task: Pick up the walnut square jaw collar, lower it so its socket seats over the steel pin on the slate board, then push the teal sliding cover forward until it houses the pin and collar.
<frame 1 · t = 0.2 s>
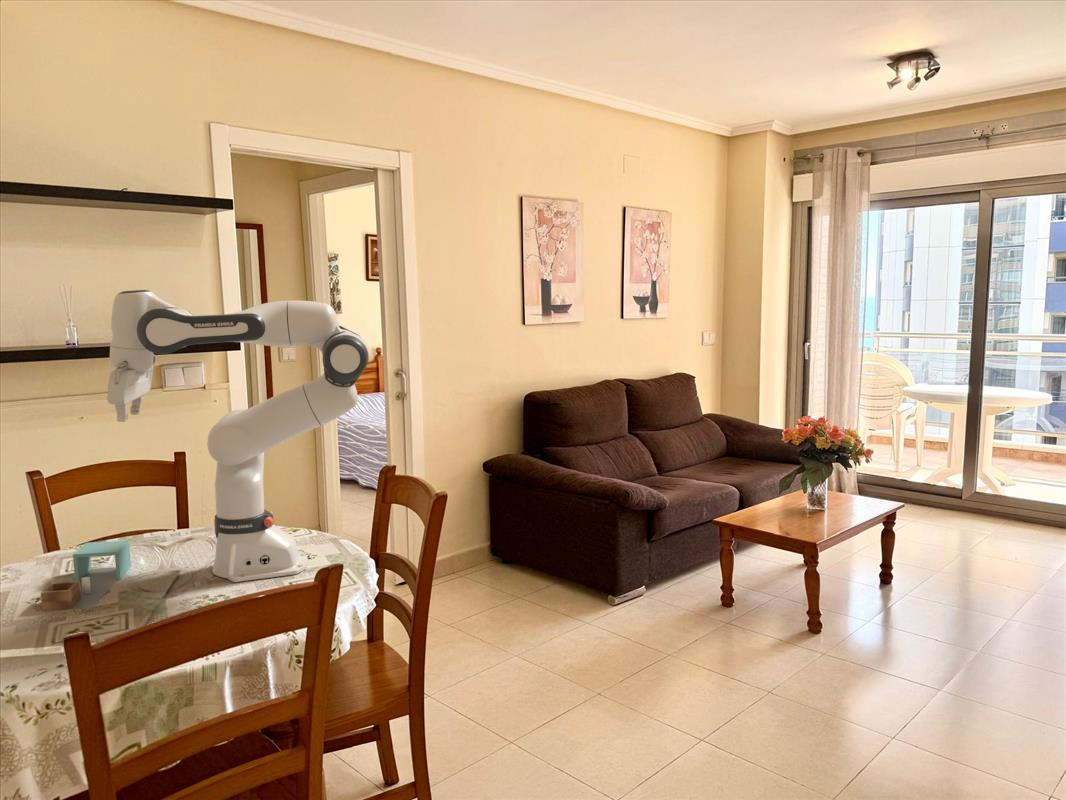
hand: (128, 417, 176), 38 cm above the table, tool pointing down, fingers open, 8 cm apart
housing base: (88, 591, 171), on the table
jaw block: (62, 604, 162), point 1 cm above the table, touching housing base
cover: (102, 560, 178), point 5 cm above the table, slide at 0.0 cm
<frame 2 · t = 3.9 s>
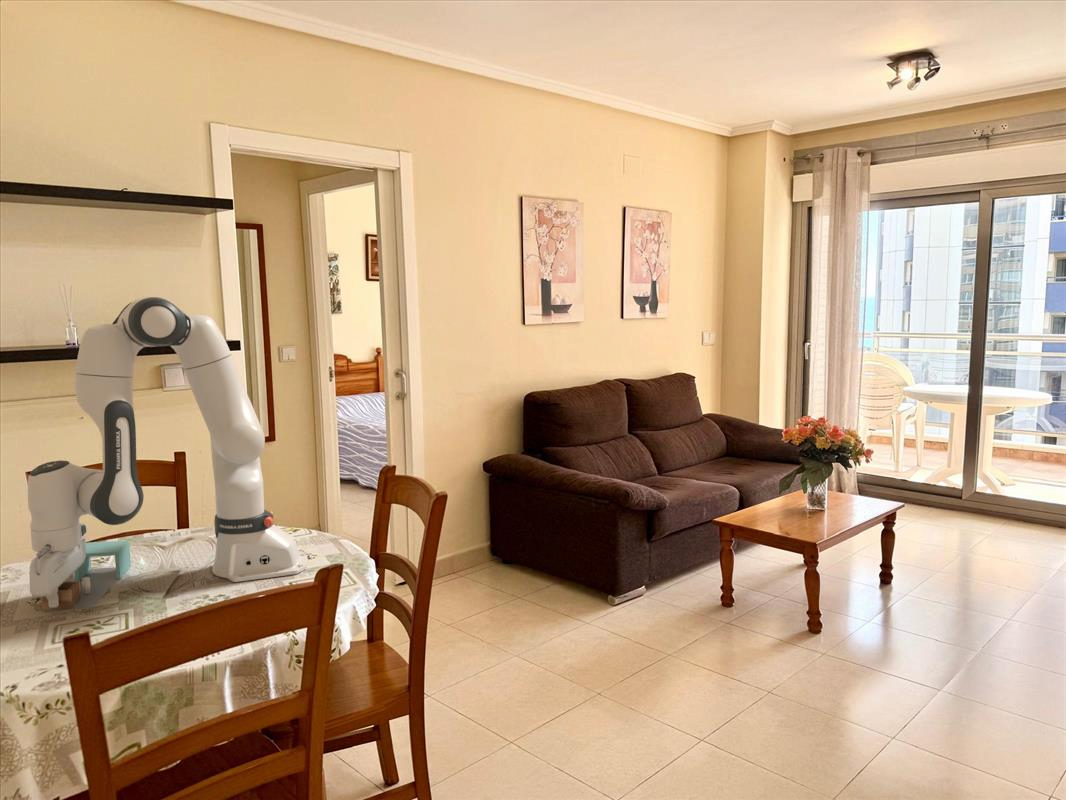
hand: (61, 599, 162), 2 cm above the table, tool pointing down, fingers closed on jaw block, 6 cm apart
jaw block: (62, 604, 162), point 1 cm above the table, touching gripper, housing base
everything else where it was.
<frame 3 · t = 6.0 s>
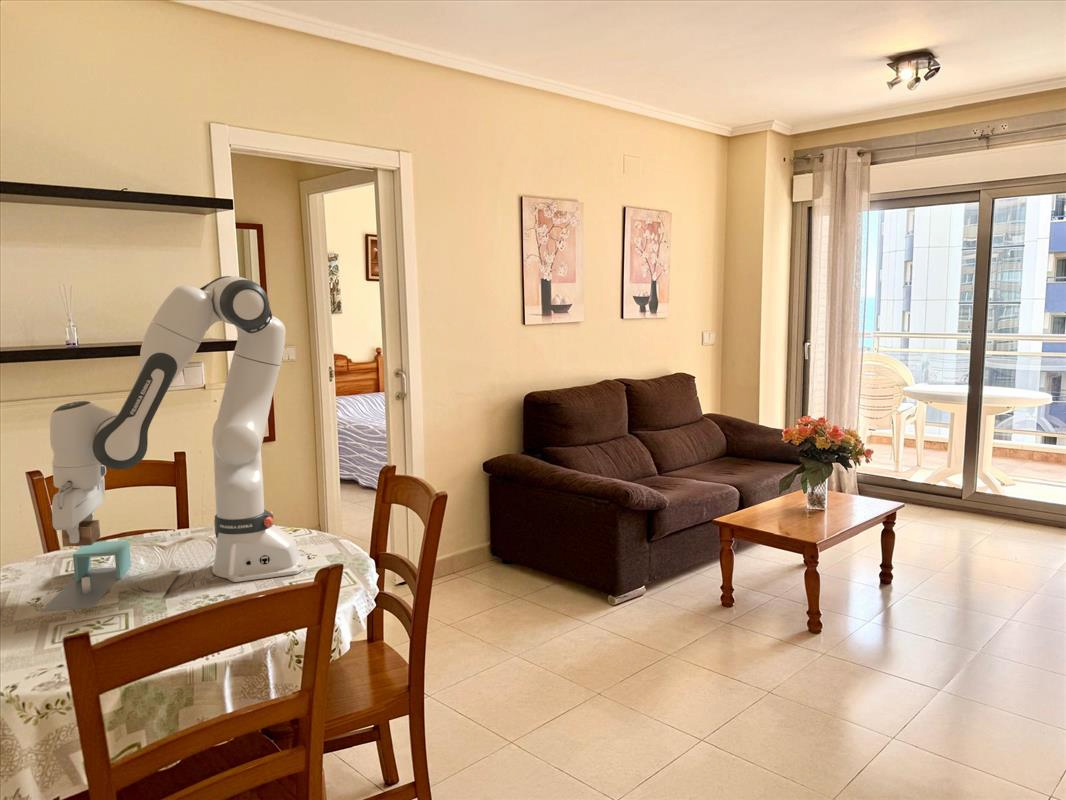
hand: (81, 536, 166), 14 cm above the table, tool pointing down, fingers closed on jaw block, 6 cm apart
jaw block: (81, 541, 166), point 13 cm above the table, touching gripper
everything else where it was.
when the fingers open (4 cm above the table, at t = 8.2 s): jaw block drops 2 cm, resting on housing base.
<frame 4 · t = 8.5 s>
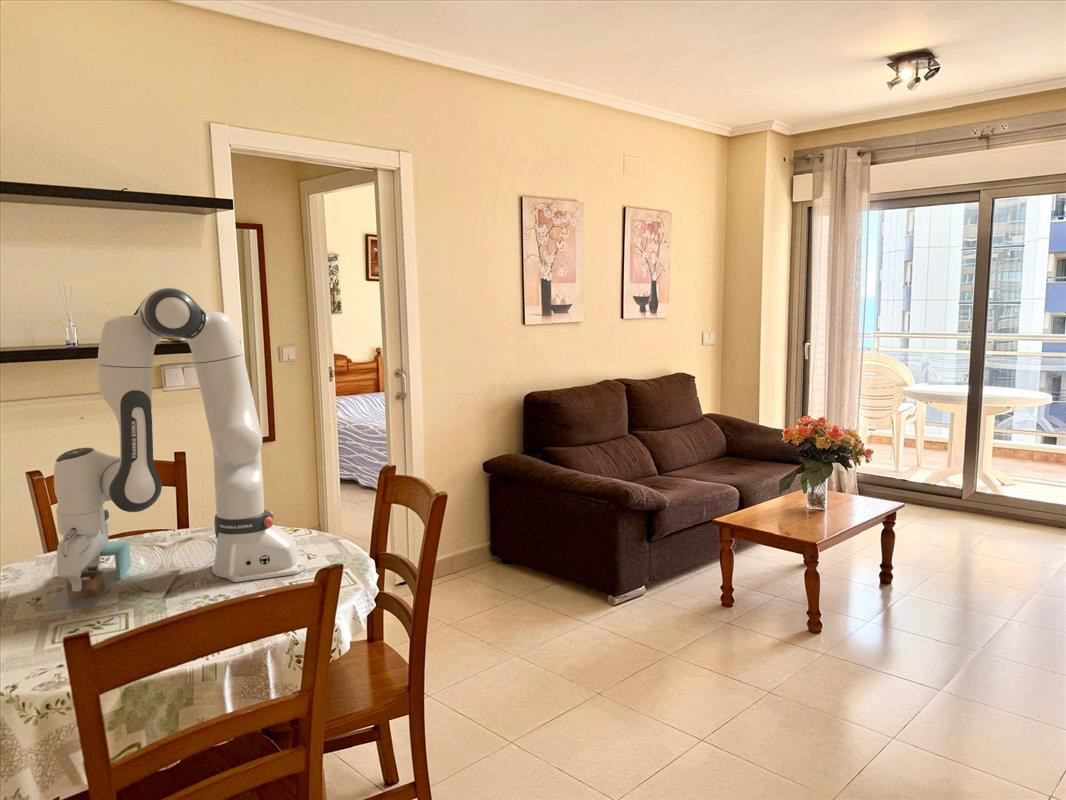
hand: (86, 581, 167), 4 cm above the table, tool pointing down, fingers open, 8 cm apart
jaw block: (86, 593, 168), point 1 cm above the table, touching housing base
everything else where it was.
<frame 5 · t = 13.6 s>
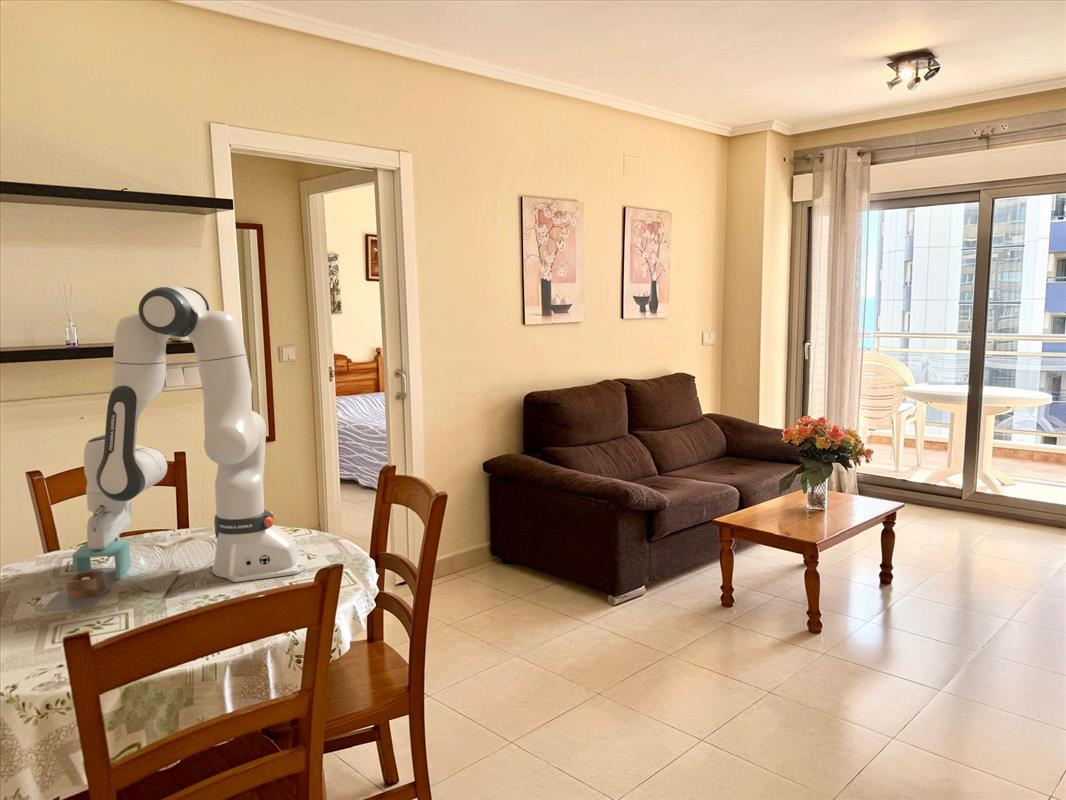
hand: (112, 554, 184), 4 cm above the table, tool pointing down, fingers closed
cover: (102, 560, 178), point 5 cm above the table, slide at 0.3 cm, touching gripper
everything else where it was.
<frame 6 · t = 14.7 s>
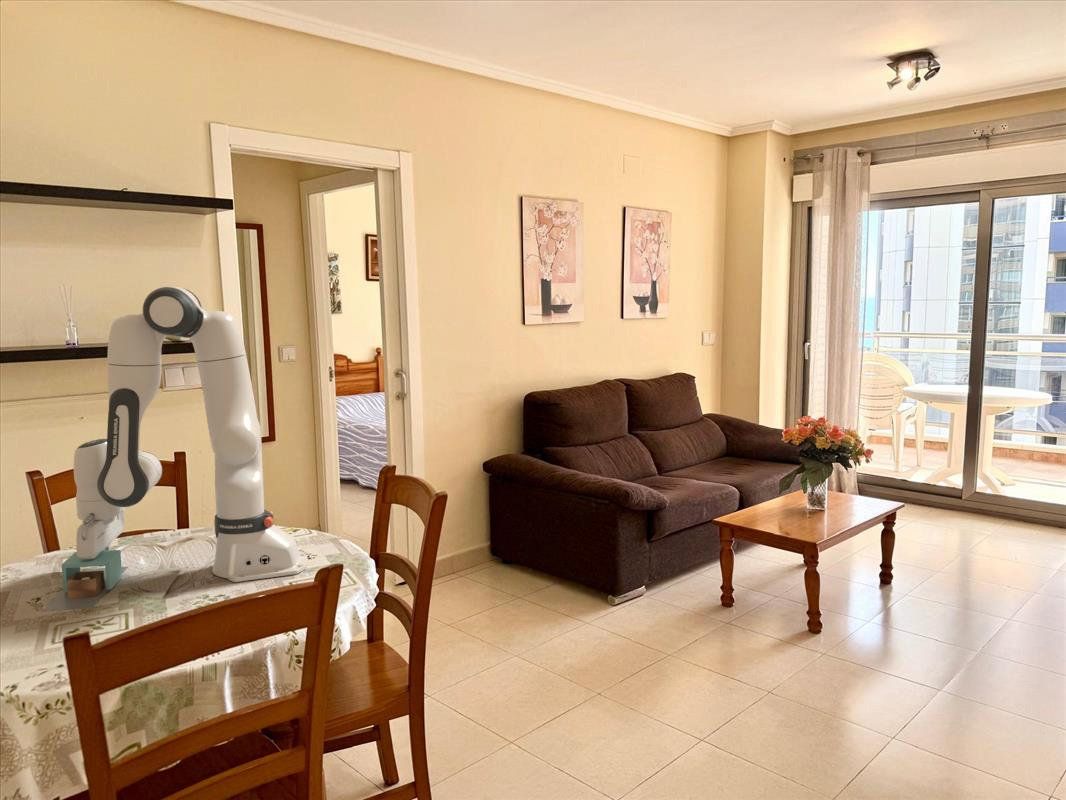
hand: (103, 564, 178), 4 cm above the table, tool pointing down, fingers closed
cover: (92, 570, 171), point 5 cm above the table, slide at 6.6 cm, touching gripper
everything else where it was.
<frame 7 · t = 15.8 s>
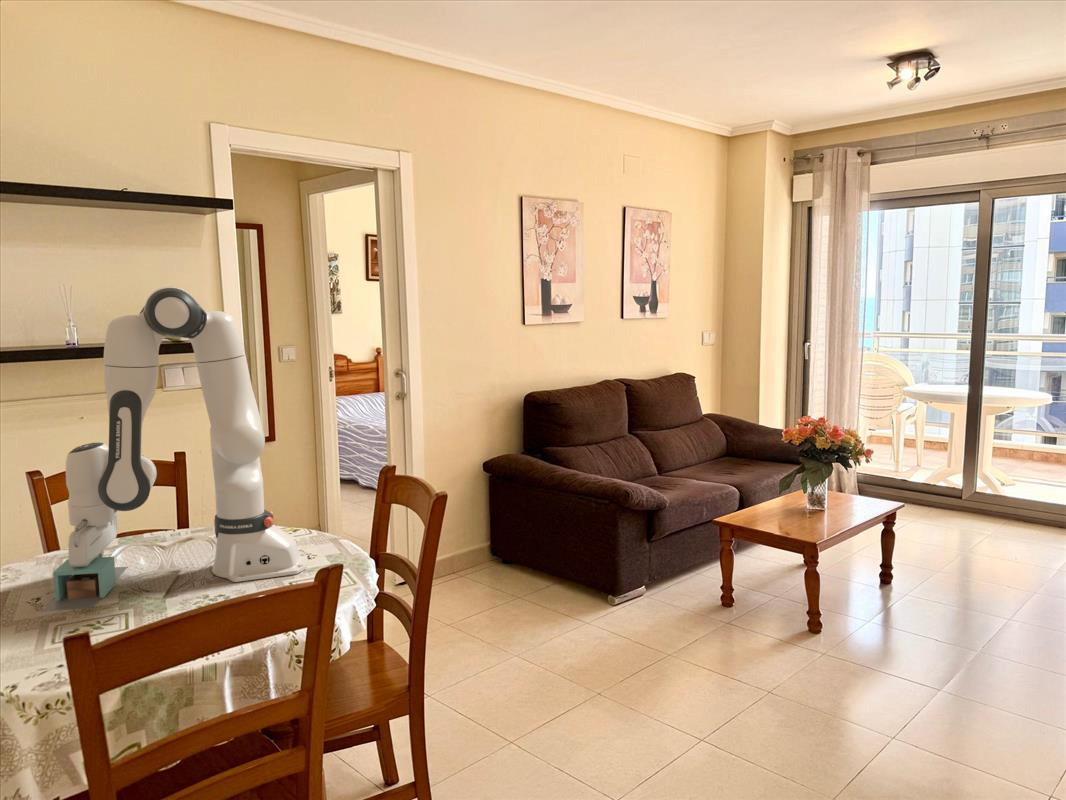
hand: (96, 571, 174), 4 cm above the table, tool pointing down, fingers closed
cover: (85, 578, 167), point 5 cm above the table, slide at 11.0 cm, touching gripper
everything else where it was.
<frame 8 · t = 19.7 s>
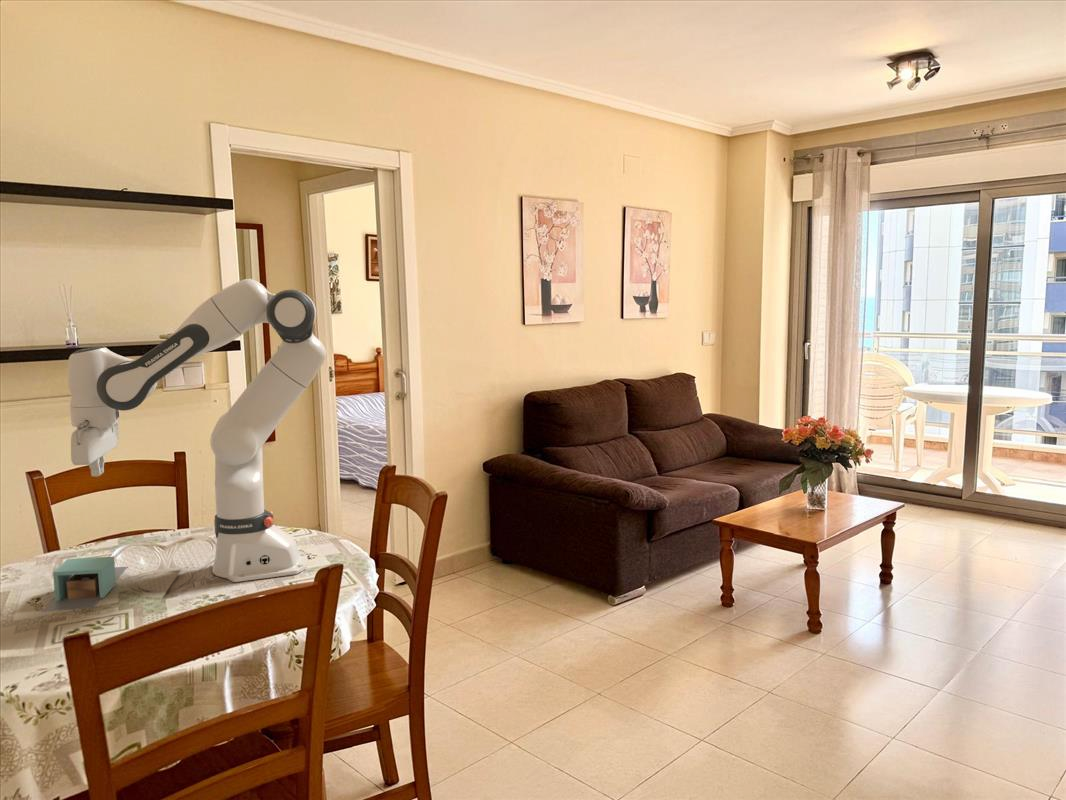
hand: (97, 475, 176), 25 cm above the table, tool pointing down, fingers closed
cover: (85, 578, 167), point 5 cm above the table, slide at 11.0 cm
everything else where it was.
at the end: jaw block 0.0 cm from the target spot, point 1.0 cm above the table; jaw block tilted 0°; cover slide at 11.0 cm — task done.
